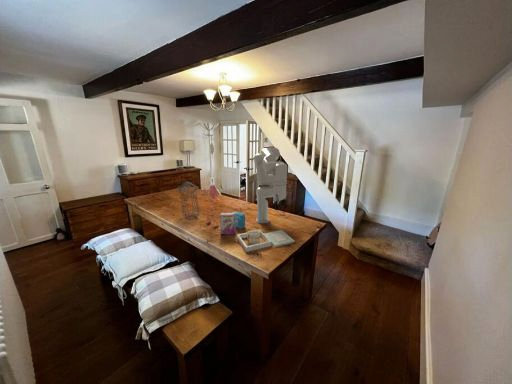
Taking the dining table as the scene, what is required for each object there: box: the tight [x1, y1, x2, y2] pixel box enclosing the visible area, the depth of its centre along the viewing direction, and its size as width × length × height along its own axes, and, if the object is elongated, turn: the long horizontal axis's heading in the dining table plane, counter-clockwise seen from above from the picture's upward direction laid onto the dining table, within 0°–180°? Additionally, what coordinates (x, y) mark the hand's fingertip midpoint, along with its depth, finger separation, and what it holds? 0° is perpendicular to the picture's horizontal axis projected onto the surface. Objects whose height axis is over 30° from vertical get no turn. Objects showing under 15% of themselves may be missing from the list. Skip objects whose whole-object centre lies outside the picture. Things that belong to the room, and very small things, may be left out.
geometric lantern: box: [176, 181, 200, 221], centre depth 180 cm, size 16×16×35 cm
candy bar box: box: [219, 212, 236, 235], centre depth 153 cm, size 11×5×16 cm, turn 92°
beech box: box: [246, 229, 261, 246], centre depth 141 cm, size 5×8×8 cm, turn 114°
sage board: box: [263, 229, 295, 248], centre depth 147 cm, size 18×16×2 cm
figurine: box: [203, 184, 222, 228], centre depth 168 cm, size 15×26×35 cm, turn 45°
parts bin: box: [236, 229, 272, 253], centre depth 142 cm, size 19×19×4 cm
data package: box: [232, 211, 246, 229], centre depth 165 cm, size 12×4×12 cm, turn 57°
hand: (279, 207), depth 132 cm, fingers open, 9 cm apart
